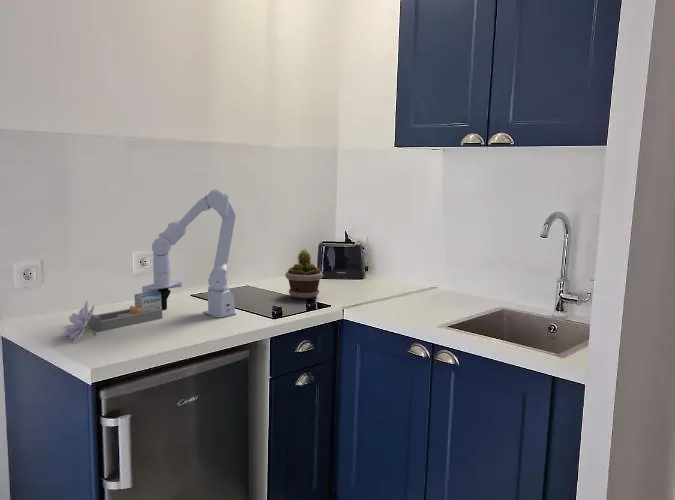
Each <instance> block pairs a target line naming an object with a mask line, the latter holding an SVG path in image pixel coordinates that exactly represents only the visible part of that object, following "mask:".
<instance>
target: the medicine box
mask: <svg viewBox="0 0 675 500" xmlns="http://www.w3.org/2000/svg"><path fill="white" fill-rule="evenodd" d="M133 297H134V306H135V307H138V308H141V309H142V313H144V312H149V311H154V310H159V309H161V310H162V304H161V292H159V291H151V292H147V293H144V292H140V293H136V294H134V295H133Z"/></svg>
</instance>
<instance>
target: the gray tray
mask: <svg viewBox="0 0 675 500" xmlns="http://www.w3.org/2000/svg"><path fill="white" fill-rule="evenodd" d="M127 313H130V308H127V309H122V310H115V311H111V312H105V313H100V314H93V313H92V315H91V317H90V319H89V321H88V322H87V326H88V327H89V328H91V329H92V330H93V331H94V332H103V331H108V330H112V329H113V330H114V329H117V328H121V327H127V326H131V325H137V324H141V323H146V322H153V321H157V320H161V319H163V311H162V310H161V309H159V310H154V311H149V312H144V313H138V314H133V315H128V316H123V317H117V315H121V314H127Z"/></svg>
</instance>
